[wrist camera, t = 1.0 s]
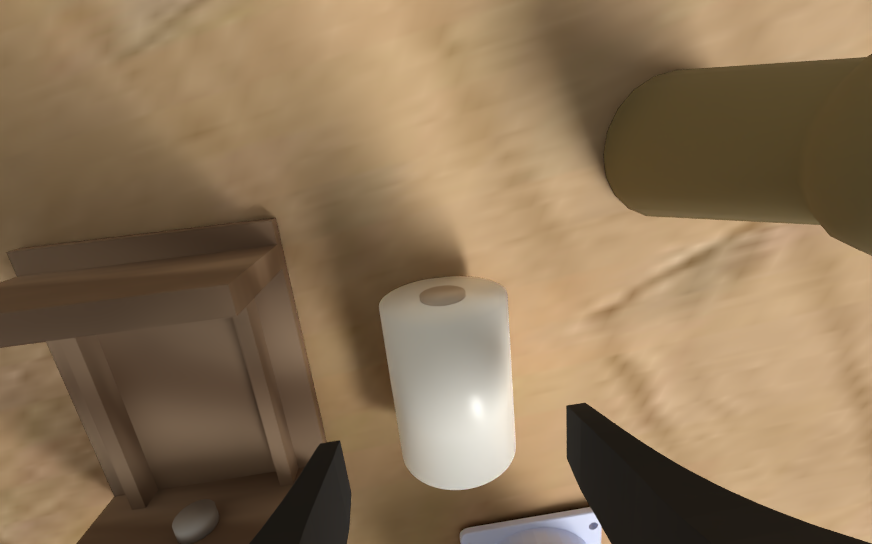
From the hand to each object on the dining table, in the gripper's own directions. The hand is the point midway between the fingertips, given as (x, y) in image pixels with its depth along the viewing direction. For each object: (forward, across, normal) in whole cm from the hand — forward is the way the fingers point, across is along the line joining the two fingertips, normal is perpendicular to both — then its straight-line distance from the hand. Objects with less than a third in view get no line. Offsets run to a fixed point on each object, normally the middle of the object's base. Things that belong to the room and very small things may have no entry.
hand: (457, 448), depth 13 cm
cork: (+7, -11, -8) cm, 15 cm away
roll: (+7, 0, 0) cm, 7 cm away
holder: (+7, +11, 0) cm, 13 cm away
